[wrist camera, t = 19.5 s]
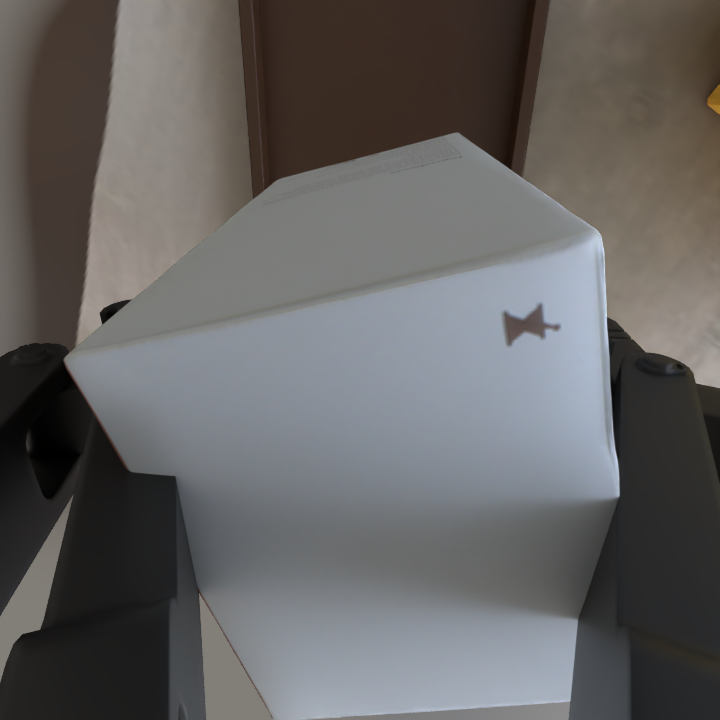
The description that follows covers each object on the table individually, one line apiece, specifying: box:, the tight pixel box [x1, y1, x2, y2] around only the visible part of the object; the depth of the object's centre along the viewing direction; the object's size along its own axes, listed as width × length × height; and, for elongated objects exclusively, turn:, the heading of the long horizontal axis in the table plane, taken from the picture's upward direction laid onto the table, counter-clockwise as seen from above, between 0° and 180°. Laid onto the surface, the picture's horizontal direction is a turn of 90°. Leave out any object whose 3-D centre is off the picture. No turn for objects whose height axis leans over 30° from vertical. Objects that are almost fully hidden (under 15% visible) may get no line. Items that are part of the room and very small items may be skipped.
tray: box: [238, 0, 550, 199], centre depth 28 cm, size 15×21×2 cm
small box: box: [63, 133, 620, 720], centre depth 13 cm, size 8×6×13 cm
